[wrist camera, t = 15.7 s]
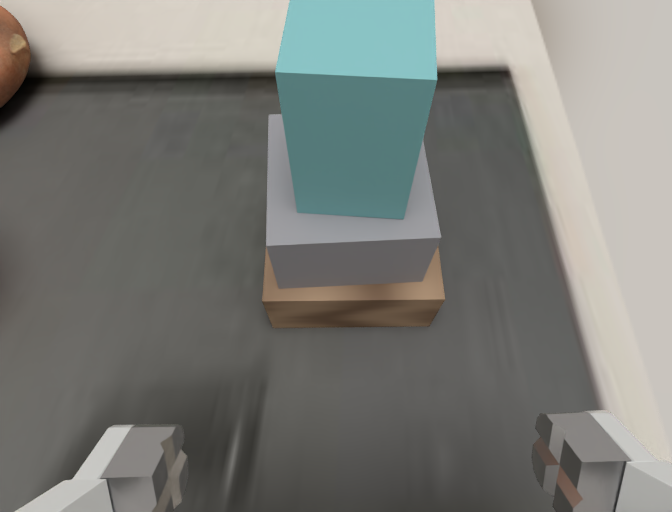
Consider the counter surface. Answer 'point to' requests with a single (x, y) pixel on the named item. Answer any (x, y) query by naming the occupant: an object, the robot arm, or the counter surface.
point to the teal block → (356, 102)
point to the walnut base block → (355, 302)
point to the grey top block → (345, 232)
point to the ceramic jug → (12, 55)
